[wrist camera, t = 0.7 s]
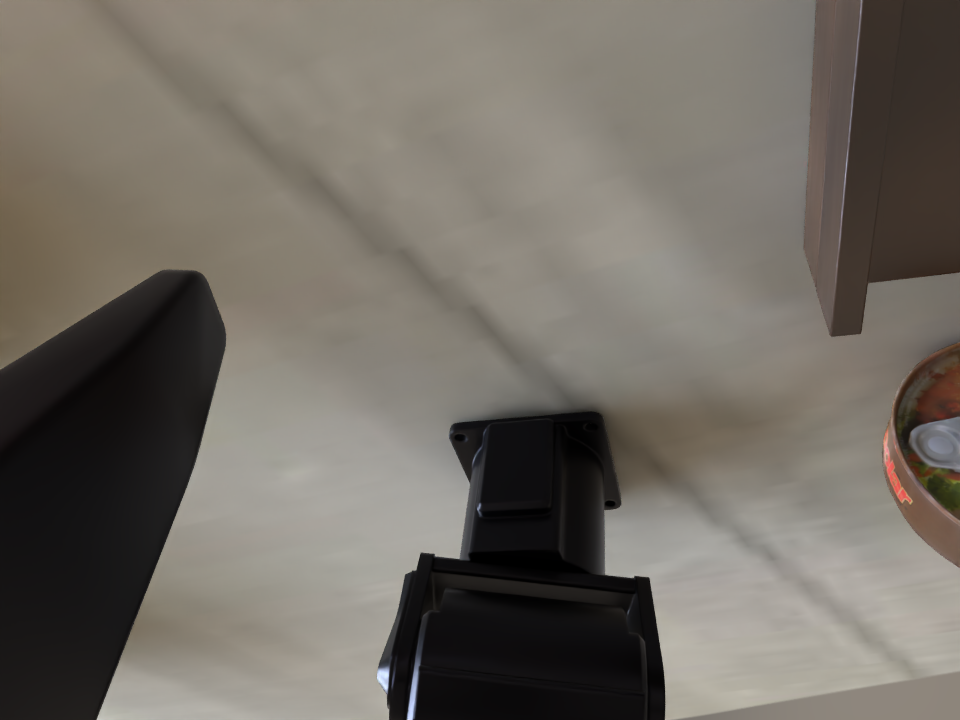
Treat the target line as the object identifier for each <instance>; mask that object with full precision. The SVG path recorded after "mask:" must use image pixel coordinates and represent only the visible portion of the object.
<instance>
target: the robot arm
mask: <svg viewBox="0 0 960 720" xmlns="http://www.w3.org/2000/svg"><path fill="white" fill-rule="evenodd" d="M225 347H226V331H225V326H224V323H223V320H222V318H221V315H220V312H219V310H218V307H217V305H216V302H215V299H214V297H213V294H212V291H211V289H210V286H209V283H208V281H207V279H206V278H205V277H204V275H203V274H201V273H200V272H197V271H192V270H170V269H169V270H162V271H159V272H158V273H156V274H154V275H153V276H151V277H149V278H148V279H146V280H145V281H143V282H141V283H140V284H138V285H137V286H135V287H133V288H132V289H130V290H128V291H127V292H125V293H124V294H122V295H120V296H119V297H117V298H116V299H114V300H112V301H111V302H109V303H108V304H106V305H104V306H103V307H101V308H100V309H98V310H96V311H95V312H93V313H91V314H90V315H88V316H87V317H85V318H83V319H82V320H80V321H79V322H77V323H75V324H74V325H72V326H71V327H69V328H67V329H66V330H64V331H62V332H61V333H59V334H58V335H56V336H54V337H53V338H51V339H50V340H48V341H46V342H45V343H43V344H42V345H40V346H38V347H37V348H35V349H33V350H32V351H30V352H29V353H27V354H25V355H24V356H22V357H21V358H19V359H17V360H16V361H14V362H13V363H11V364H9V365H8V366H6V367H5V368H3V369H1V370H0V720H97V717H98V715H99V712H100V709H101V707H102V704H103V702H104V699H105V697H106V694H107V691H108V689H109V686H110V684H111V681H112V678H113V676H114V673H115V671H116V668H117V666H118V663H119V660H120V658H121V655H122V653H123V650H124V648H125V645H126V642H127V640H128V637H129V635H130V632H131V630H132V627H133V624H134V622H135V619H136V617H137V614H138V611H139V609H140V606H141V604H142V601H143V599H144V596H145V593H146V591H147V588H148V586H149V583H150V581H151V578H152V575H153V573H154V570H155V568H156V565H157V563H158V560H159V557H160V555H161V552H162V550H163V547H164V544H165V542H166V539H167V537H168V534H169V532H170V529H171V526H172V524H173V521H174V519H175V516H176V514H177V511H178V508H179V506H180V503H181V501H182V498H183V496H184V493H185V490H186V488H187V485H188V482H189V480H190V477H191V474H192V471H193V468H194V466H195V462H196V459H197V455H198V452H199V448H200V445H201V441H202V437H203V433H204V429H205V425H206V421H207V418H208V414H209V410H210V406H211V402H212V398H213V394H214V390H215V386H216V383H217V379H218V375H219V371H220V367H221V363H222V359H223V355H224V351H225ZM590 423H592V424H590ZM449 439H450V441H451V443H452V445H453V447H454V450H455V452H456V454H457V456H458V458H459V460H460V463H461V465H462V467H463V469H464V471H465V474H466V476H467V478H468V480H469V482H470V489H469V496H468V503H467V510H466V518H465V525H464V532H463V539H462V546H461V553H460V559H453V558H444V557H435V554H429V553H421V554H420V558H419V562H418V566H417V570H416V571H412V572H410V573H408V574H405V578H404V583H403V589H402V594H401V599H400V604H399V608H398V612H397V616H396V619H395V622H394V625H393V627H392V630H391V633H390V635H389V638H388V641H387V644H386V646H385V649H384V652H383V654H382V657H381V660H380V662H379V666H378V672H377V680H378V682H379V683H380V685H381V686H382V688H383V689H384V691H385V692H386V694H387V706H388V709H390V710H389V720H665V680H664V670H663V662H662V656H661V649H660V643H659V636H658V630H657V623H656V617H655V611H654V604H653V598H652V591H651V585H650V579H649V577H640V576H634V578H627V577H617V576H608V575H605V521H604V510H612V509H617V508H619V507H620V506H621V493H620V489H619V484H618V480H617V475H616V471H615V466H614V462H613V458H612V453H611V449H610V444H609V440H608V435H607V431H606V426H605V422H604V418H603V416H602V415H600V414H599V413H596V412H581V413H569V414H557V415H545V416H533V417H521V418H509V419H497V420H485V421H472V422H460V423H455V424H453V425H452V426H451V428H450V432H449Z"/></svg>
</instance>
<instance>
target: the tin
mask: <svg viewBox="0 0 960 720" xmlns="http://www.w3.org/2000/svg"><path fill="white" fill-rule="evenodd" d="M882 458H883V468H884V474H885V478H886V481H887V484H888V487H889V490H890V492H891V494H892V496H893V498H894V500H895V502H896V504H897V506H898V507H899V509H900V511H901V513H902V515H903V516H904V518H905V519H906V521H907V522H908V523H909V525H910V526H911V527H912V529H913V530H914V531H915V532H916V533H917V534H918V535H919V536H920V537H921V538H922V539H923V540H924V541H925V542H926V543H927V544H928V545H929V546H931V547H932V548H933V549H934V550H935V551H937V552H938V553H939V554H940V555H942V556H943V557H944V558H946V559H947V560H949V561H950V562H952V563H953V564H954V565H956V566H957V567H959V568H960V342H959V343H956V344H953V345H951V346H948V347H945V348H943V349H941V350H939V351H937V352H935V353H933V354H931V355H930V356H928V357H927V358H925V359H924V360H922V361H921V362H920V363H918V364H917V365H916V366H915V367H914V368H913V369H912V370H911V371H910V372H909V373H908V374H907V376H906V377H905V378H904V380H903V381H902V383H901V385H900V386H899V388H898V390H897V393H896V395H895V398H894V401H893V405H892V412H891V417H890V420H889V423H888V426H887V429H886V432H885V436H884V442H883V451H882Z"/></svg>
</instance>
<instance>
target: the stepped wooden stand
mask: <svg viewBox="0 0 960 720" xmlns="http://www.w3.org/2000/svg"><path fill="white" fill-rule="evenodd" d="M804 251H805V254H806V258H807V261H808V264H809V267H810V271H811V274H812V277H813V280H814V284H815V287H816V291H817V294H818V298H819V301H820V304H821V308H822V311H823V314H824V317H825V321H826V324H827V327H828V330H829V334H830V336H831V337H835V336H845V335H855V334H861V332H862V324H863V316H864V309H865V301H866V293H867V286H868V283H873V282H882V281H891V280H899V279H908V278H916V277H925V276H933V275H942V274H951V273H959V272H960V0H816V18H815V37H814V56H813V76H812V95H811V114H810V134H809V153H808V173H807V192H806V211H805V231H804Z"/></svg>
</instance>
